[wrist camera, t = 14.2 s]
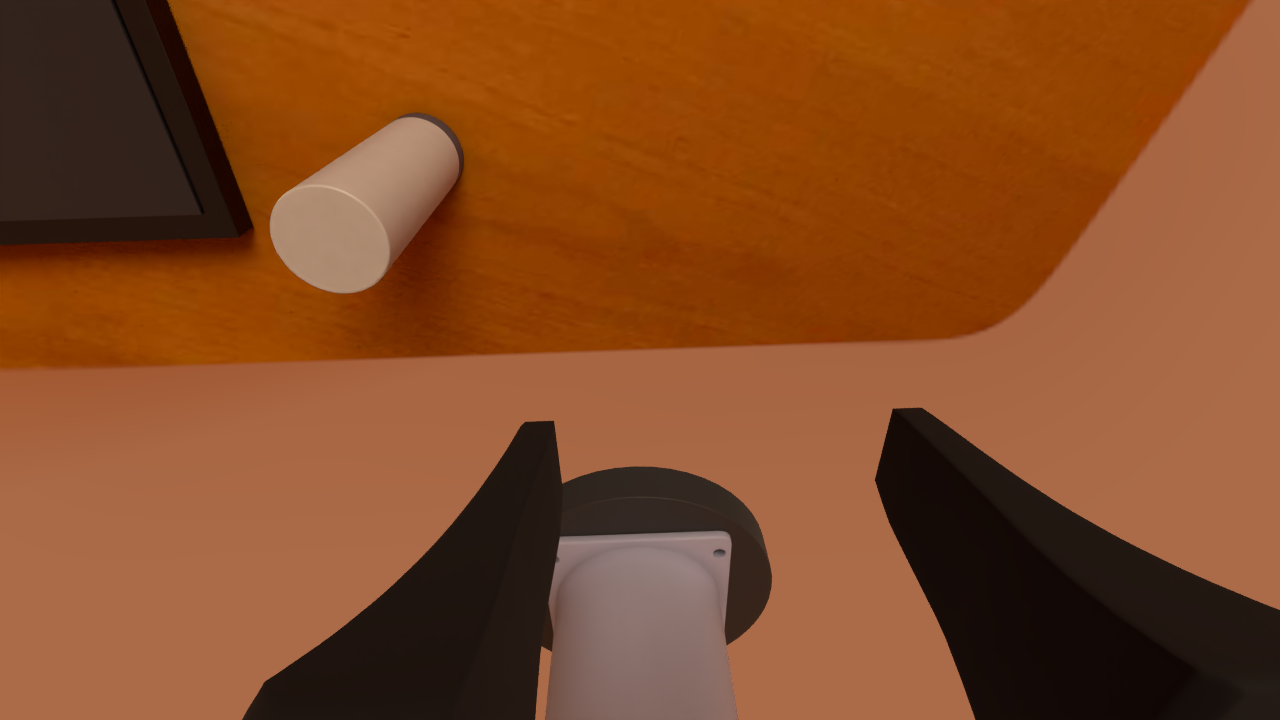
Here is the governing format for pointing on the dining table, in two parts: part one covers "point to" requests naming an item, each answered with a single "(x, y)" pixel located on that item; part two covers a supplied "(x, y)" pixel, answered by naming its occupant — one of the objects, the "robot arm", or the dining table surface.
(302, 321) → the dining table surface
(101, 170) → the tablet
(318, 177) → the beige cylinder
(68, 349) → the dining table surface
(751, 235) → the dining table surface
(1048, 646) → the robot arm
